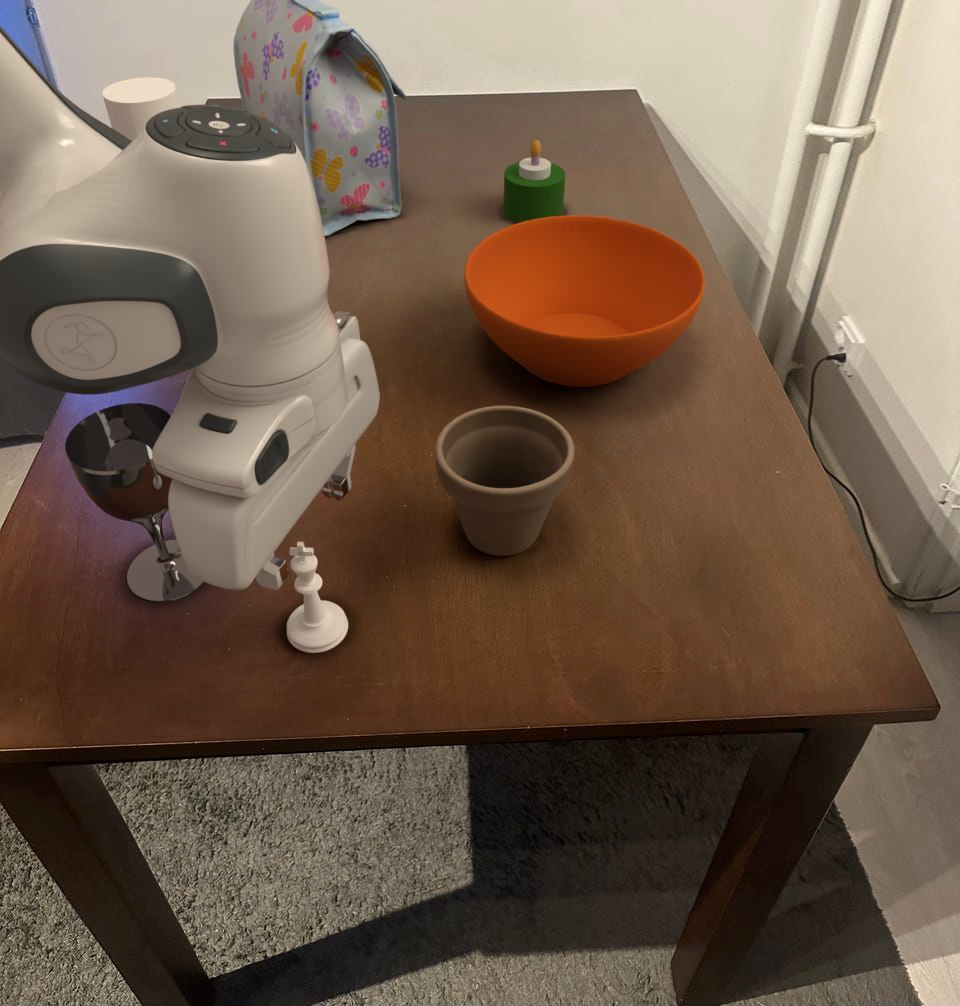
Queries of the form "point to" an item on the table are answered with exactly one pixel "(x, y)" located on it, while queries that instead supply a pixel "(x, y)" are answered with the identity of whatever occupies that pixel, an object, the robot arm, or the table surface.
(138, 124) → the cylindrical container
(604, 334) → the bowl
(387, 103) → the lunch bag
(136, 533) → the table surface
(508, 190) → the candle
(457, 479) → the flower pot
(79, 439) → the wine glass
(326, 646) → the chess piece
